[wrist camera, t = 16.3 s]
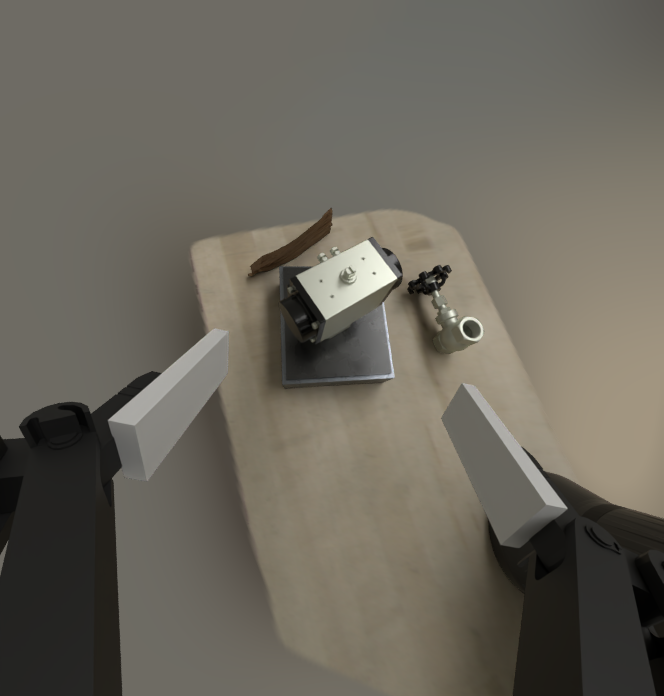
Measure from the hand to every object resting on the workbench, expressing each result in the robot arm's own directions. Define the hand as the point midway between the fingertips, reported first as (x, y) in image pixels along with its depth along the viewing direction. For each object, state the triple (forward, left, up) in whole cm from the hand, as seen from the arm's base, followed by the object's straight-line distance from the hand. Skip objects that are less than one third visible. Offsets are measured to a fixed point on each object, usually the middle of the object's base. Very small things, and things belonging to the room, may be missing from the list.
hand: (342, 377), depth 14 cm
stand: (+10, -3, -21) cm, 23 cm away
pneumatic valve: (+10, -2, -16) cm, 19 cm away
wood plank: (+23, +3, -21) cm, 31 cm away
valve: (+11, -19, -21) cm, 31 cm away
